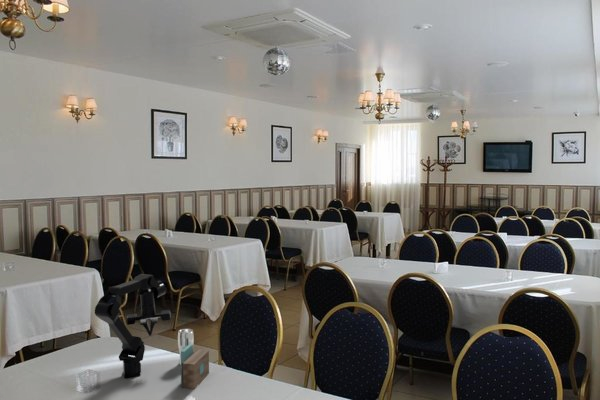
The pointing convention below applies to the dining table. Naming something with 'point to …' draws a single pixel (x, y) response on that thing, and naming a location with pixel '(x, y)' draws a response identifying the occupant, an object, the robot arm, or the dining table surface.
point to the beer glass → (184, 339)
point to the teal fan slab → (186, 353)
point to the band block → (194, 368)
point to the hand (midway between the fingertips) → (150, 335)
